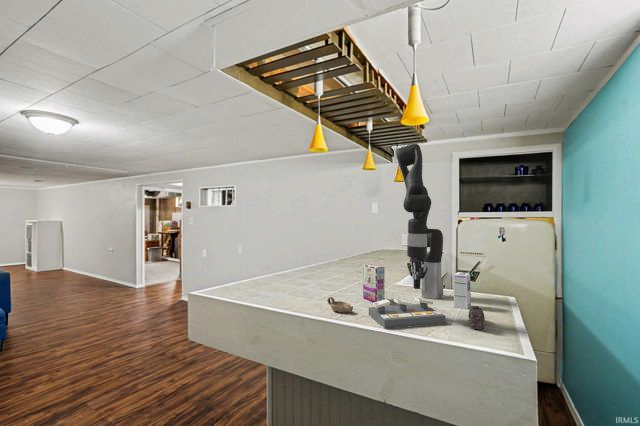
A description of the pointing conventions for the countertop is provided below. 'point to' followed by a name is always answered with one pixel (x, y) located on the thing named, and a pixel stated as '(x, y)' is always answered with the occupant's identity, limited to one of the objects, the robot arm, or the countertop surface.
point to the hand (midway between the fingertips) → (416, 288)
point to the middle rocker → (402, 302)
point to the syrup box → (462, 290)
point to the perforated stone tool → (476, 318)
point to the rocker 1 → (381, 303)
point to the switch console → (406, 315)
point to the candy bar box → (373, 282)
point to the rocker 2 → (423, 300)
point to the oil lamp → (340, 306)
